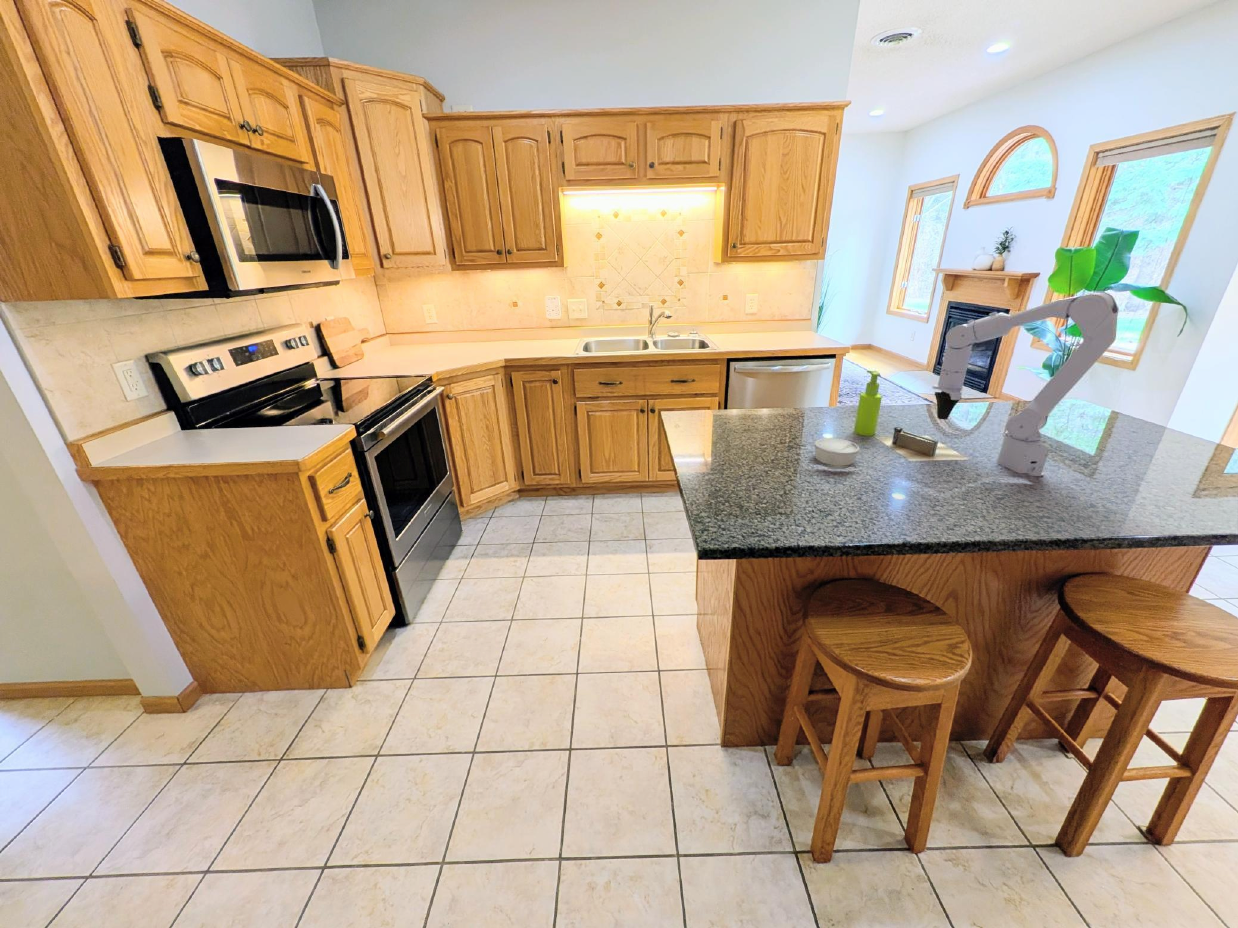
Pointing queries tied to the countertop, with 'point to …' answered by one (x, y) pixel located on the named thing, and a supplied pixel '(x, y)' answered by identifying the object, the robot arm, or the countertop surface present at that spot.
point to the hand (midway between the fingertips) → (942, 418)
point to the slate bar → (925, 439)
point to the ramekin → (835, 452)
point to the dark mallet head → (912, 443)
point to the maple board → (940, 454)
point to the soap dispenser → (868, 407)
